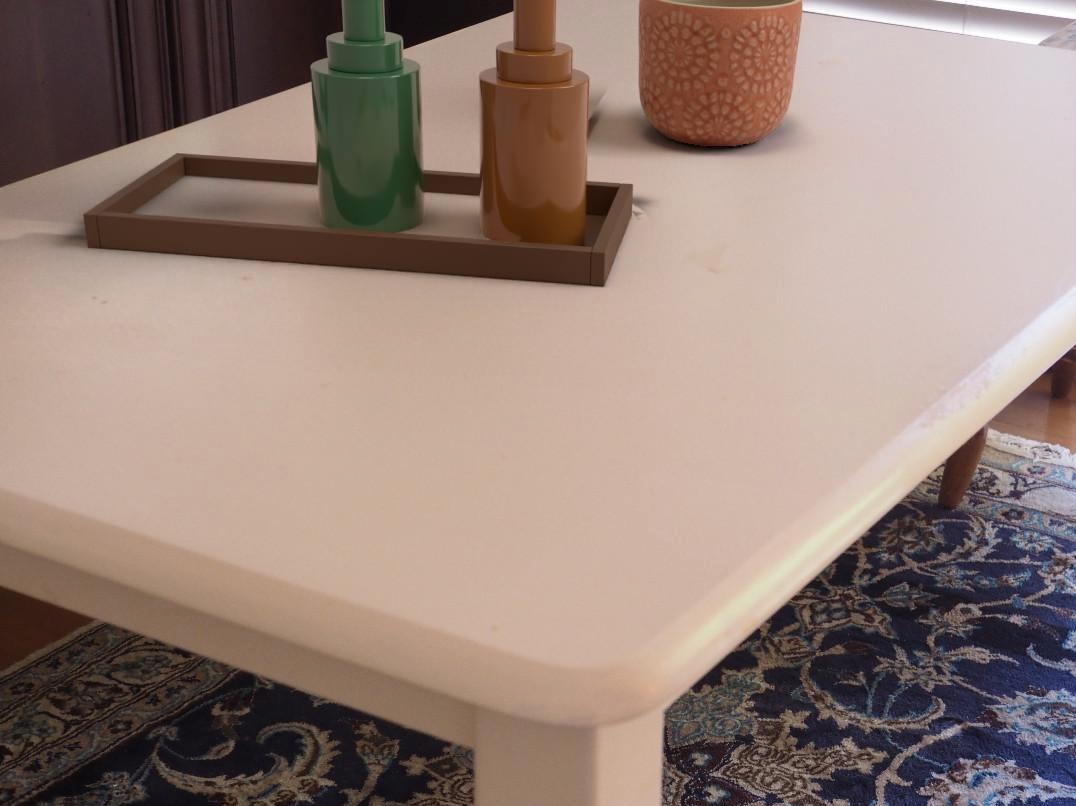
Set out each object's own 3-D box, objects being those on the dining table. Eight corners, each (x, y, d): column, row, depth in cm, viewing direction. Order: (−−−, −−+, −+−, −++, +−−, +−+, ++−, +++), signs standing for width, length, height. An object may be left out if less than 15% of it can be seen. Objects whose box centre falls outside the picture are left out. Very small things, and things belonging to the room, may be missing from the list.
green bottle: (306, 242, 85) (288, -22, 78) (338, 210, 90) (324, -39, 83) (410, 250, 84) (401, -16, 77) (436, 217, 90) (430, -33, 83)
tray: (88, 256, 83) (82, 214, 82) (180, 190, 95) (176, 152, 94) (603, 296, 80) (605, 252, 79) (631, 222, 92) (633, 183, 91)
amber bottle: (470, 254, 84) (466, -13, 77) (492, 221, 89) (490, -30, 82) (576, 262, 83) (583, -6, 76) (592, 228, 89) (599, -24, 82)
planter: (655, 111, 119) (661, -25, 114) (801, 125, 116) (814, -13, 111) (615, 147, 108) (620, -1, 103) (776, 164, 105) (789, 13, 100)
